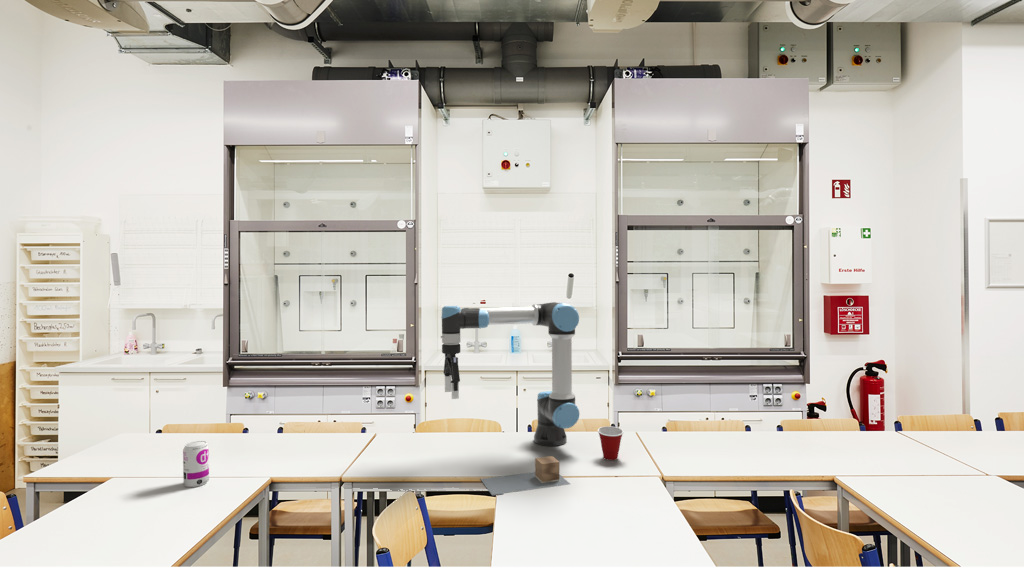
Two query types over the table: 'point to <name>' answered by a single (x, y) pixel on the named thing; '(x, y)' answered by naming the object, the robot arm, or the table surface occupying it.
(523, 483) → the rubber mat
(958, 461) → the table surface
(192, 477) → the supplement can
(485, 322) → the robot arm
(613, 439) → the plastic cup
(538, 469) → the light wooden block
